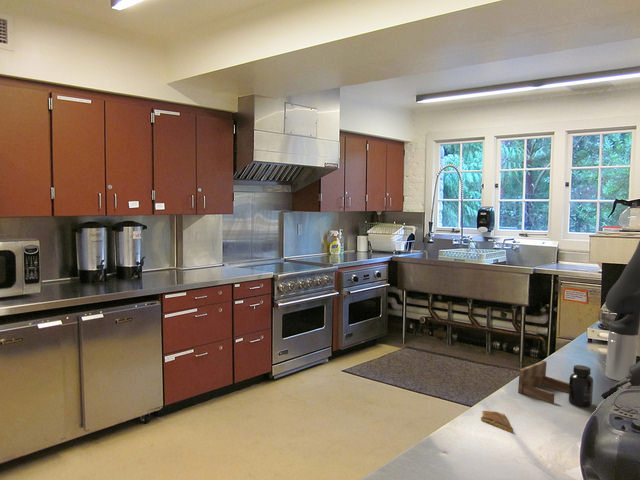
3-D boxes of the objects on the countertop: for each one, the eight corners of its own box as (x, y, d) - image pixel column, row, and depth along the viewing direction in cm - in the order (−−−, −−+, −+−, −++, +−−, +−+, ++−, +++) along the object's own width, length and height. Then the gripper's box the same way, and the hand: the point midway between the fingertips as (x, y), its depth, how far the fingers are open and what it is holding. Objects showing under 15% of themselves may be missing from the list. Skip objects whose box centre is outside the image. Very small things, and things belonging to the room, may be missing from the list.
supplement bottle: (589, 401, 163) (592, 365, 162) (593, 409, 156) (596, 372, 155) (566, 398, 165) (569, 362, 164) (569, 406, 159) (572, 369, 158)
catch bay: (541, 382, 179) (543, 360, 178) (573, 392, 170) (575, 369, 169) (518, 392, 169) (519, 369, 168) (550, 403, 160) (552, 379, 159)
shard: (513, 434, 139) (513, 428, 139) (484, 432, 140) (485, 426, 140) (504, 417, 150) (504, 412, 150) (478, 415, 151) (478, 409, 151)
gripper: (651, 355, 150) (604, 382, 161) (634, 363, 142) (586, 391, 153) (670, 377, 147) (621, 403, 157) (654, 387, 139) (603, 414, 149)
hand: (604, 397), depth 155 cm, fingers closed
